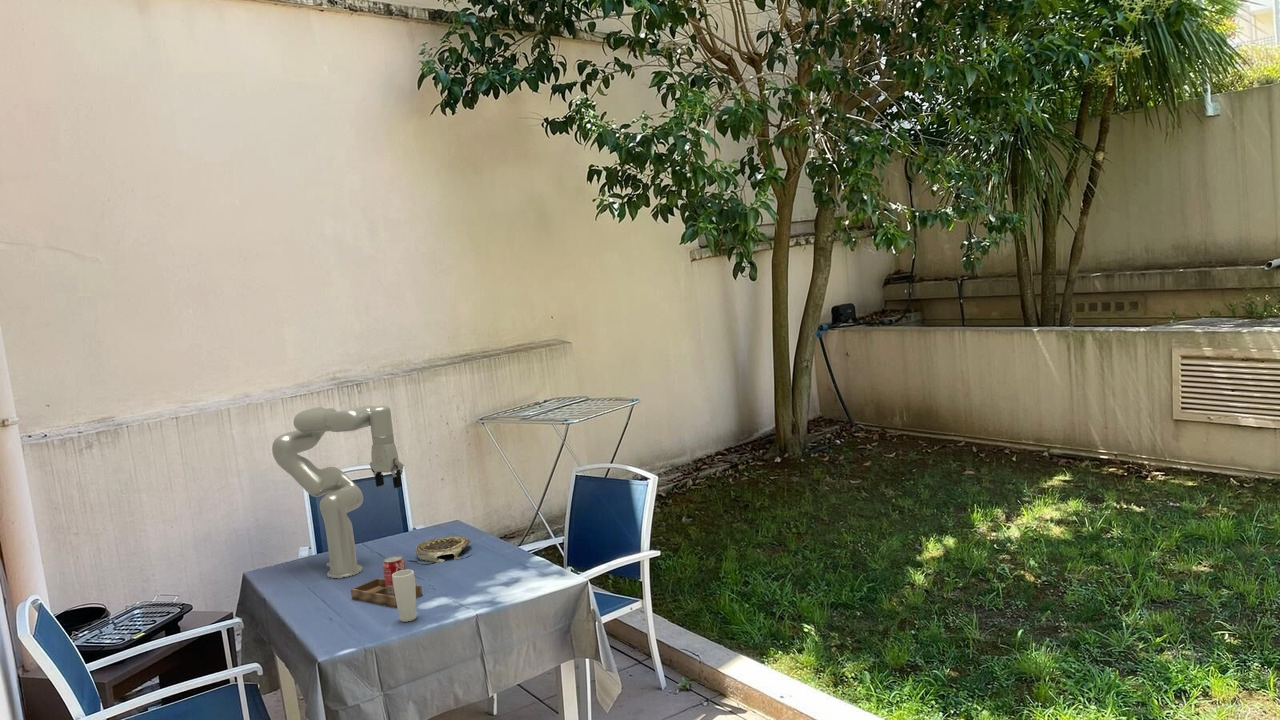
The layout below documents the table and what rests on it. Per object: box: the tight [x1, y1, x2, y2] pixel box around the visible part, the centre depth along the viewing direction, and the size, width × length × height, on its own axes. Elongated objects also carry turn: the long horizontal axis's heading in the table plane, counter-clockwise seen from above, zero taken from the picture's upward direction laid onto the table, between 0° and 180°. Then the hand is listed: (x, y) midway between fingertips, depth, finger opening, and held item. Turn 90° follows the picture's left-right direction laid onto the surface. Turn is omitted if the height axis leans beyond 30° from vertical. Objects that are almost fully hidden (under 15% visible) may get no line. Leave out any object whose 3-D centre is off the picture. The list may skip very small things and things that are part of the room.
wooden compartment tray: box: [350, 577, 423, 609], centre depth 292 cm, size 22×12×4 cm, turn 56°
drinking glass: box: [392, 569, 418, 623], centre depth 269 cm, size 7×7×15 cm
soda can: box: [382, 555, 407, 596], centre depth 289 cm, size 7×7×13 cm
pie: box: [415, 536, 471, 565], centre depth 338 cm, size 28×27×5 cm
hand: (389, 486), depth 312 cm, fingers open, 9 cm apart
